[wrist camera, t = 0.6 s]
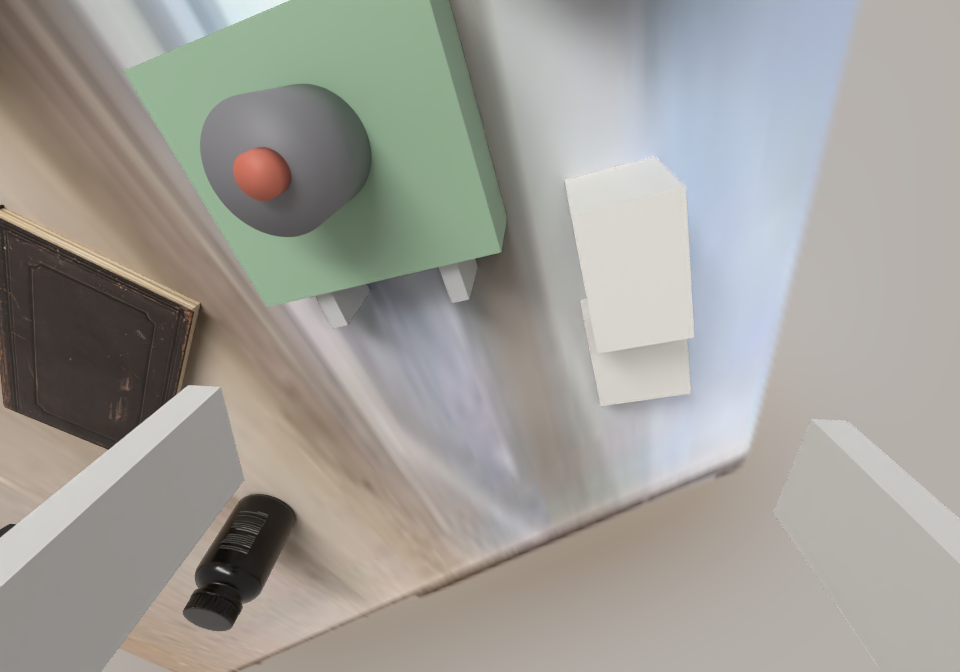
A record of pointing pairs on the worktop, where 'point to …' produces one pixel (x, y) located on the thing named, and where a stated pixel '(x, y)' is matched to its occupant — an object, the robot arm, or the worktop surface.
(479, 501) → the worktop surface
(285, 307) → the worktop surface
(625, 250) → the stepped white pillar
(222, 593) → the supplement bottle
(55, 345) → the hardcover book
